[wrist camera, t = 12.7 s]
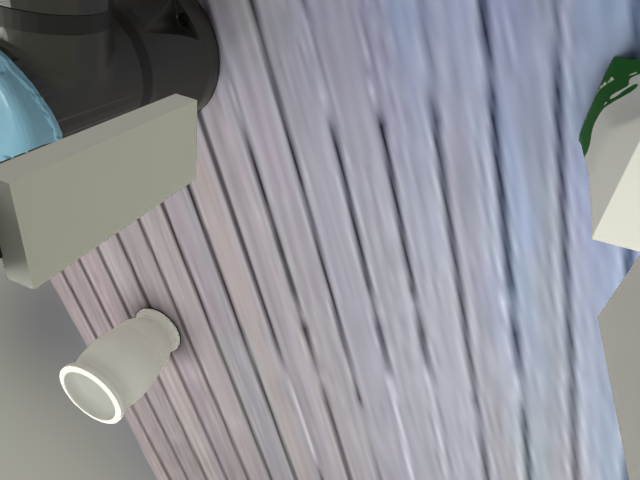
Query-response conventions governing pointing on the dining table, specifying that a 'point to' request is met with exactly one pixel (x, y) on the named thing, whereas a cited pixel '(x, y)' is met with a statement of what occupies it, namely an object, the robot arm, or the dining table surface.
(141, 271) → the dining table surface
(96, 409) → the jar
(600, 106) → the milk carton
